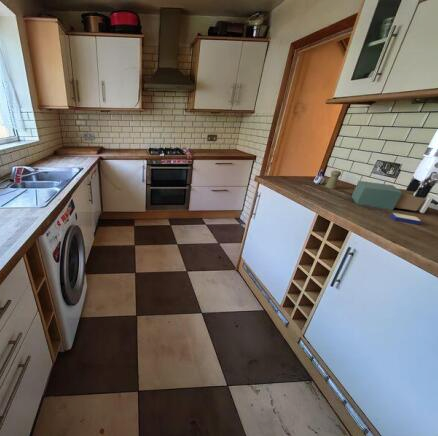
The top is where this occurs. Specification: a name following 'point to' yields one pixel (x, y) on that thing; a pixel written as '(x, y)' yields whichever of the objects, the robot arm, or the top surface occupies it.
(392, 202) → the green faceted block
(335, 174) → the beige upright figurine
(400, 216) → the notebook
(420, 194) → the robot arm
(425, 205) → the drawer
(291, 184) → the top surface
